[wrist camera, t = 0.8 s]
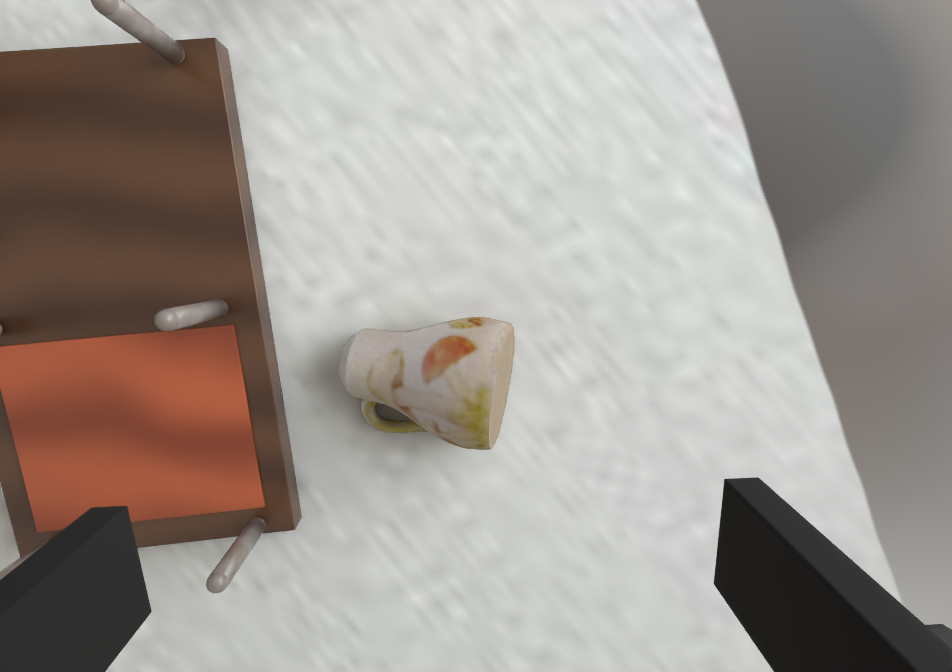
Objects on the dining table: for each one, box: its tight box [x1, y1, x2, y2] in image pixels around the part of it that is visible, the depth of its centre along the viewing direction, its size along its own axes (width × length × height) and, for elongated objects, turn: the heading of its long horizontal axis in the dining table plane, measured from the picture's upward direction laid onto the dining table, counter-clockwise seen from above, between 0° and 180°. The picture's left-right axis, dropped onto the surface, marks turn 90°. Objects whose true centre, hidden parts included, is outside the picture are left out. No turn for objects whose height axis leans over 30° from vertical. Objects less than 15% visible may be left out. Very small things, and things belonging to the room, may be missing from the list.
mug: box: [339, 317, 514, 450], centre depth 27 cm, size 8×10×10 cm
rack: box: [0, 0, 301, 593], centre depth 25 cm, size 28×16×8 cm, turn 5°
